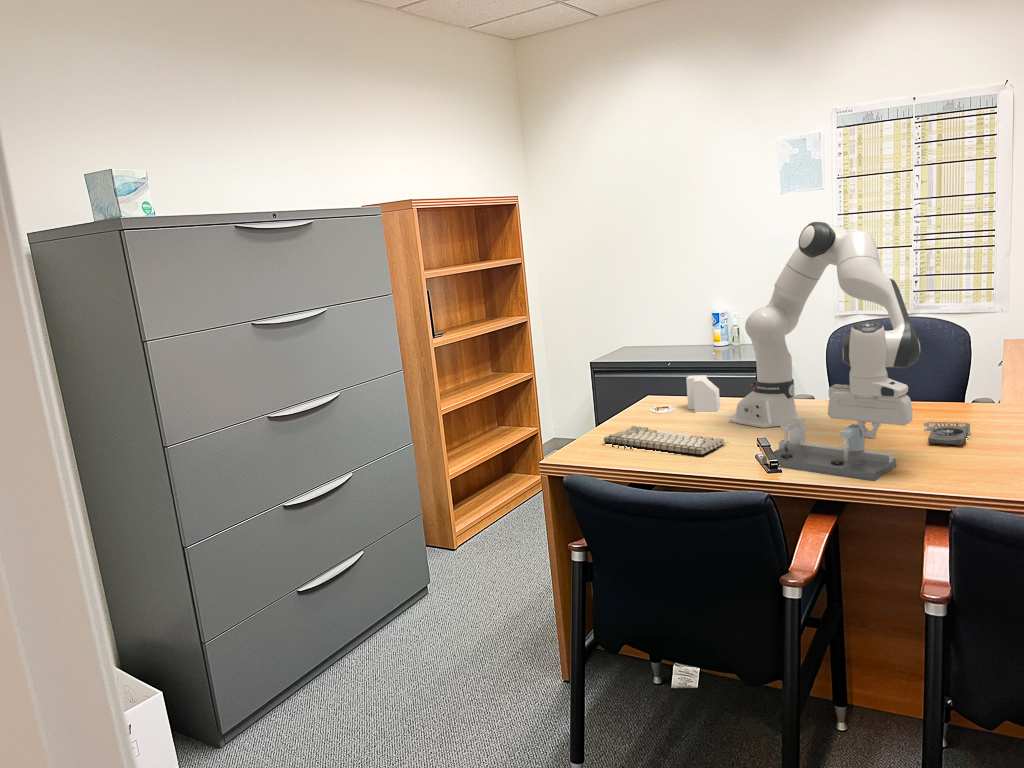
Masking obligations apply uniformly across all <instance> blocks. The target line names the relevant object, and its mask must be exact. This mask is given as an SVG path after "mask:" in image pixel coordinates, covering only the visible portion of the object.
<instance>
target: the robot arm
mask: <svg viewBox="0 0 1024 768" xmlns="http://www.w3.org/2000/svg"><path fill="white" fill-rule="evenodd" d="M829 265H832V266H836V272H837V274H836V275H837V281H838V284H839V287H840V289H841V290H842V291H843V292H844V293H845V294H847V296H850V297H852V298H854V299H857V300H862V301H867V302H871V303H874V304H877V305H880V306H881V307H883V308H884V309H885V310H886V311H887V314H888V317H889V321H890V322H891V326H892V329H891V330H885V327H884V325H883V324H881V323H879V322H876V321H875V322H874V321H864V322H863V321H862V322H859V323H855V324H854V325H853V326H852V327H851V328H850V333H849V334H847V335H846V336H845V337H844V338H843V339H842V340H841V345H842V358H841V359H842V360H841V361H842V362H843V363H844V364H846V365H847V366H849V367H850V370H849V373H848V374H849V377H848V378H849V384H839V383H835V384H833V385H831V386H830V387H829V388H828V398H829V400H828V406H827V407H828V408H827V415H828V416H829V418H830V419H832V420H843V421H853V422H857V424H858V426H859V428H860V430H861V431H862V437H863V438H864V439H870V440H875V439H876V438H877V431H878V429H879V428H880V427H881V425H882V424H884V425H895V426H905V427H906V426H907V425H909V424H910V423H911V422H912V421H913V417H914V416H913V406H912V405H913V404H912V400H911V398H910V396H908V394H907V393H908V392H909V385H908V384H905V383H903V382H899V381H897V380H894V379H892V378H889V377H888V371H887V368H897V369H907V368H909V367H911V366H912V365H914V364H915V363H917V361H918V360H919V359H920V354H921V344H920V343H921V342H920V340H919V338H918V336H917V333H916V331H915V329H914V327H913V324H912V322H911V318H910V316H909V314H908V310H907V307H906V304H905V301H904V299H903V298H904V297H902V292H901V290H900V289H899V286H898V284H897V282H896V281H895V279H893V278H890V277H888V276H887V275H886V274H885V273H884V271H883V270H882V268H881V261H880V255H879V249H878V247H877V244H876V241H875V238H874V237H873V235H872V234H871V233H869V232H867V231H864V230H851V229H848V228H846V227H840V226H837V225H833V224H830V223H829V224H828V223H826V222H824V221H823V222H822V221H812V222H810V223H808V224H807V225H806V226H805V227H804V228H803V229H802V231H801V232H800V234H799V237H798V246H797V248H796V249H795V250H794V251H793V253H792V254H791V256H790V257H789V259H788V260H787V263H786V264H785V265H784V267H783V269H782V270H781V272H780V275H779V276H778V277H777V278H776V281H775V283H774V286H773V287H774V288H773V289H774V290H773V291H772V292H773V293H772V295H771V299H770V300H769V302H768V303H767V305H765V306H763V307H761V308H758V309H756V310H754V311H753V312H752V313H751V314H750V315H749V316H748V317H747V318H746V320H745V326H744V329H745V332H746V334H747V337H748V338H750V340H751V343H752V344H751V345H752V347H753V351H754V354H755V355H754V356H755V361H756V362H755V363H756V376H757V377H756V379H757V380H754V381H753V382H751V383H750V388H751V387H753V388H752V391H751V392H750V393H748V394H747V395H745V396H744V397H743V398H741V400H739V402H738V403H737V405H736V410H735V414H733V415H731V416H730V417H729V423H735V424H740V425H746V426H752V427H756V428H761V429H765V428H771V427H781V425H782V424H784V423H787V422H789V421H790V420H792V419H794V418H796V419H800V418H799V416H798V412H797V409H796V408H797V407H796V403H795V380H794V378H793V365H792V364H793V358H792V357H793V356H792V354H791V353H790V352H789V349H788V346H787V342H786V335H788V334H790V333H792V332H793V330H794V329H795V328H796V327H797V325H798V323H799V320H800V317H801V314H802V312H803V310H804V308H805V305H806V302H807V300H808V298H809V297H810V295H811V293H812V292H813V290H814V289H815V287H816V285H817V284H818V283H819V280H820V279H821V277H822V275H823V274H824V272H825V270H826V269H827V267H828V266H829ZM867 423H871V426H872V427H873V428H872V429H871V430H868V428H867V427H866V424H867Z"/></svg>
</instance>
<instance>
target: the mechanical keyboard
mask: <svg viewBox="0 0 1024 768" xmlns="http://www.w3.org/2000/svg"><path fill="white" fill-rule="evenodd" d="M713 437H714V436H704V437H703V435H696V434H695V435H693V434H691V433H683V432H675V431H674V432H673V431H665V430H655V429H649V428H648V427H646V426H644V427H643V426H636V425H631V426H630V427H627V428H626V429H622V430H621V431H617V432H615V433H613V434H611V433H610V434H609V435H607V436H604V438H603V442H604V443H605V444H612V447H614V446H613V445H618V448H617V449H619V446H624V449H623V450H626V449H625V448H626V447H625V446H627V447H630V449H632V447H633V448H637V449H645V450H653V451H655V450H656V451H661V452H668V453H674V454H673V455H677V454H681V455H680V456H685V455H686V457H695V458H701V459H703V458H705V457H707V456H708V455H711V454H713V453H715V452H716V451H718V450H719V449H721V448H722V447H723V446H724V445H725V444H729V442H727V441H725V440H724V439H725V438H723V437H722V438H721V437H720V438H719V437H714V438H713ZM725 442H726V443H725ZM614 448H615V447H614Z"/></svg>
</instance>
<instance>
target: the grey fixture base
mask: <svg viewBox="0 0 1024 768" xmlns="http://www.w3.org/2000/svg"><path fill="white" fill-rule="evenodd" d="M805 425H806V424H805V418H804V419H803V418H799V419H796V418H794V419H792V420H790V421H789V422H787V423H784V424H782V425H781V426H780V431H783V439H782V440H780V441H778V449H776V450H774V451H772V452H773V454H774V456H775V458H776V459H777V460H778V463H779V465H780V466H781V467H780V468H785V467H787V468H786V469H793V470H798V469H800V471H805V470H806V471H805V472H812V473H819V474H826V475H833V476H837V477H838V476H841V477H846V478H853V479H860V480H866V481H873V482H875V481H876V480H878V479H879V478H881V477H882V476H884V475H885V474H887V473H888V472H889V470H890V471H891V470H892V468H893V467H894V468H895V467H897V458H895V457H894V454H893V452H884V451H877V450H876V451H875V450H867V449H863V450H861V451H853V450H848V460H844V446H842V447H841V446H835V445H826V444H818V443H810V442H806V428H805V427H806V426H805ZM766 461H767V458H766V455H764V456H763V457H762V463H763V462H766ZM894 468H893V469H894ZM886 472H887V473H886Z"/></svg>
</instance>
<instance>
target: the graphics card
mask: <svg viewBox="0 0 1024 768" xmlns="http://www.w3.org/2000/svg"><path fill="white" fill-rule="evenodd" d="M946 424H947V425H946ZM939 425H940V426H939ZM923 427H927V428H924V429H923V432H925V431H931V432H929V435H928V439H927V441H928V442H927V443H931V444H935V443H936V444H937V445H939V443H940V445H949V446H950V445H951V444H952V445H953V444H954V445H955V446H962V445H963V444H964V443H966V442H965V441H966V438H968V437H967V436H970V435H971V436H972V433H971V422H969V423H968V422H962V421H961V422H959V421H958V422H954V421H953V422H951V421H949V422H948V421H927V422H923ZM968 439H969V438H968ZM968 439H967V440H968ZM969 440H970V439H969ZM936 444H935V445H936ZM949 446H948V447H949ZM950 447H951V446H950Z"/></svg>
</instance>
